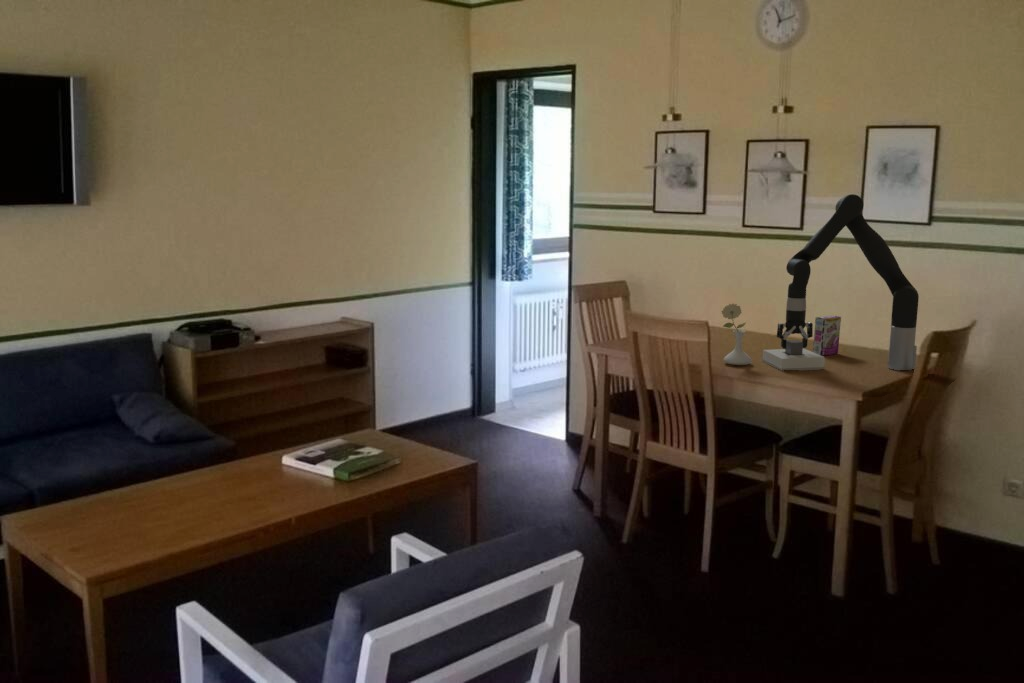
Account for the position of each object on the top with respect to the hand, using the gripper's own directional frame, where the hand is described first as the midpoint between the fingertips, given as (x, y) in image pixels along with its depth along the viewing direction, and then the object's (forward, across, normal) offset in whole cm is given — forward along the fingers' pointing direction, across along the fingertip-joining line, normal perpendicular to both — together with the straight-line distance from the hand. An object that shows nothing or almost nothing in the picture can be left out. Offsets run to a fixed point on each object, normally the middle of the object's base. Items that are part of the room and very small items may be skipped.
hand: (793, 348), depth 379 cm
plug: (+6, 0, 0) cm, 6 cm away
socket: (+7, 0, 0) cm, 7 cm away
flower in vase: (+7, +22, -6) cm, 24 cm away
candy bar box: (+8, -24, -19) cm, 32 cm away
